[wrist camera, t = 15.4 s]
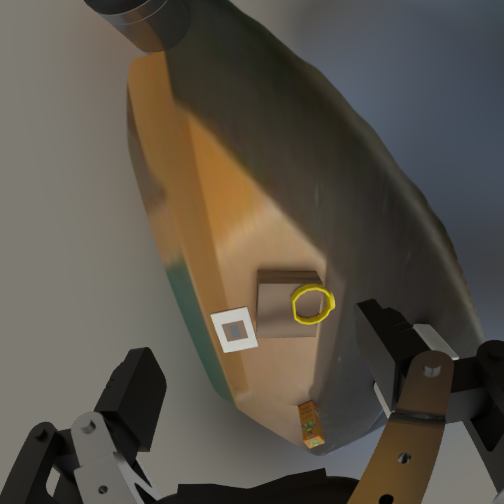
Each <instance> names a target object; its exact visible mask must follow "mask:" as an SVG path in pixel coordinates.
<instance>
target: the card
mask: <svg viewBox="0 0 504 504" xmlns="http://www.w3.org/2000/svg"><path fill="white" fill-rule="evenodd" d="M211 317H212V320H213V323H214V326H215V329H216V331H217V334H218V337H219V340H220V342H221V345H222V348H223V350H224V353H226V352H232V351H237V350H242V349H247V348H252V347H257V346H258V343H257V339H256V336H255V333H254V329H253V326H252V322H251V319H250V316H249V312H248V309H247V306H246V307H241V308H236V309H232V310H227V311H222V312H217V313H213V314H211Z"/></svg>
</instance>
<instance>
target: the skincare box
mask: <svg viewBox="0 0 504 504" xmlns="http://www.w3.org/2000/svg"><path fill="white" fill-rule="evenodd" d="M413 328H414V329H415V330H416V332H417V333H418V334H419V335H420V336H421V338H422V339H423V340H424V341H425V343H426V344H427V345H428V346H429V348H430V349H431V350H436V351H441V352H444V353H446V354H448V355H449V356H450V357H451V358H452V360H457V359H459V357H458V356H457V354H456V353H455V352H454V351H453V350H452V349H451V348H450V347H449V345H448V344H447V343H446V342H445V341H444V340H443V339H442V338H441V337H440V336H439V334H438V333H437V332H436V331H435V330H434V329H433V328H432V327H431V326H430V325H428V324H414V326H413Z"/></svg>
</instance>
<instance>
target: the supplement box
mask: <svg viewBox="0 0 504 504" xmlns="http://www.w3.org/2000/svg"><path fill="white" fill-rule="evenodd" d="M298 409H299V415H300V422H301V428H302V435H303V440H304V442H305V443H306V445H307V446H308V447H309V448H312V447H314V446H317V445H320V444H323V443H325V440H324V436H323V432H322V427H321V423H320V419H319V414H318V409H317V407H316V406H315V405H314V403H313V402H312V401H309V402H307V403H304V404H302V405H300V406H298Z"/></svg>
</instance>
